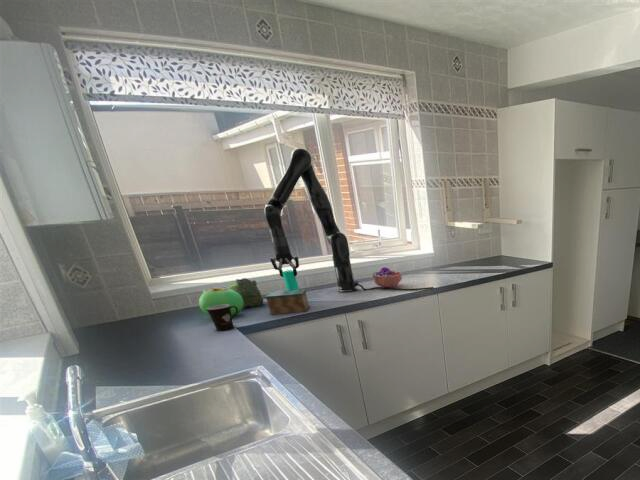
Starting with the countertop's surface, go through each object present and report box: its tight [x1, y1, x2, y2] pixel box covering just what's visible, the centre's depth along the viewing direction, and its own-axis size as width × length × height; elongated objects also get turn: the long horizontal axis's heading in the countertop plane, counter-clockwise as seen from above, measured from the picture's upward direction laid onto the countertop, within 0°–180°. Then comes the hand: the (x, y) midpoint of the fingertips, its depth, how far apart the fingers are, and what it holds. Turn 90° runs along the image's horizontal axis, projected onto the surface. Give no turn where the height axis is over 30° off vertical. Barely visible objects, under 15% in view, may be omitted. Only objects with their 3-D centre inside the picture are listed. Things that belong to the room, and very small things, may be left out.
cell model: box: [371, 267, 403, 288], centre depth 254 cm, size 17×20×11 cm
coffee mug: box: [206, 304, 238, 332], centre depth 187 cm, size 12×9×10 cm
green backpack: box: [234, 277, 264, 310], centre depth 218 cm, size 11×19×15 cm, turn 115°
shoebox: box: [265, 288, 310, 315], centre depth 212 cm, size 17×11×9 cm, turn 104°
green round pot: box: [198, 283, 244, 317], centre depth 203 cm, size 18×17×15 cm
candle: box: [282, 268, 300, 291], centre depth 234 cm, size 6×6×12 cm
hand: (289, 276), depth 233 cm, fingers closed on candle, 6 cm apart
